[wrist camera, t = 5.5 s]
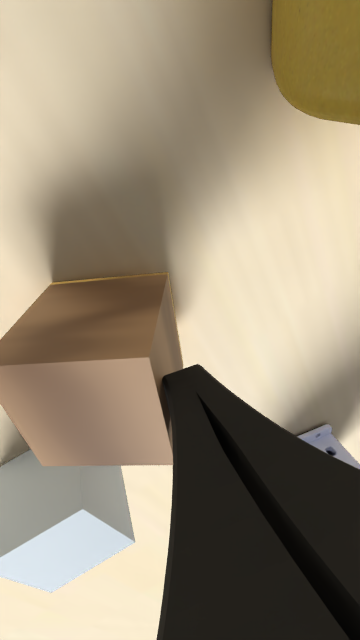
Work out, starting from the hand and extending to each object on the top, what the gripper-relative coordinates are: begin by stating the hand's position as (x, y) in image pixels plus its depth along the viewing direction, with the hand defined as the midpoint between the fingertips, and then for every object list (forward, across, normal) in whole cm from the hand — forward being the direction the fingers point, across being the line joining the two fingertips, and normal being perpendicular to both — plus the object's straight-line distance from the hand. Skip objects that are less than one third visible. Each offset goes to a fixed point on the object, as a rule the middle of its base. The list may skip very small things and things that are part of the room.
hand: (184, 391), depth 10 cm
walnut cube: (+5, +1, 0) cm, 5 cm away
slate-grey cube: (+6, +7, +9) cm, 13 cm away
